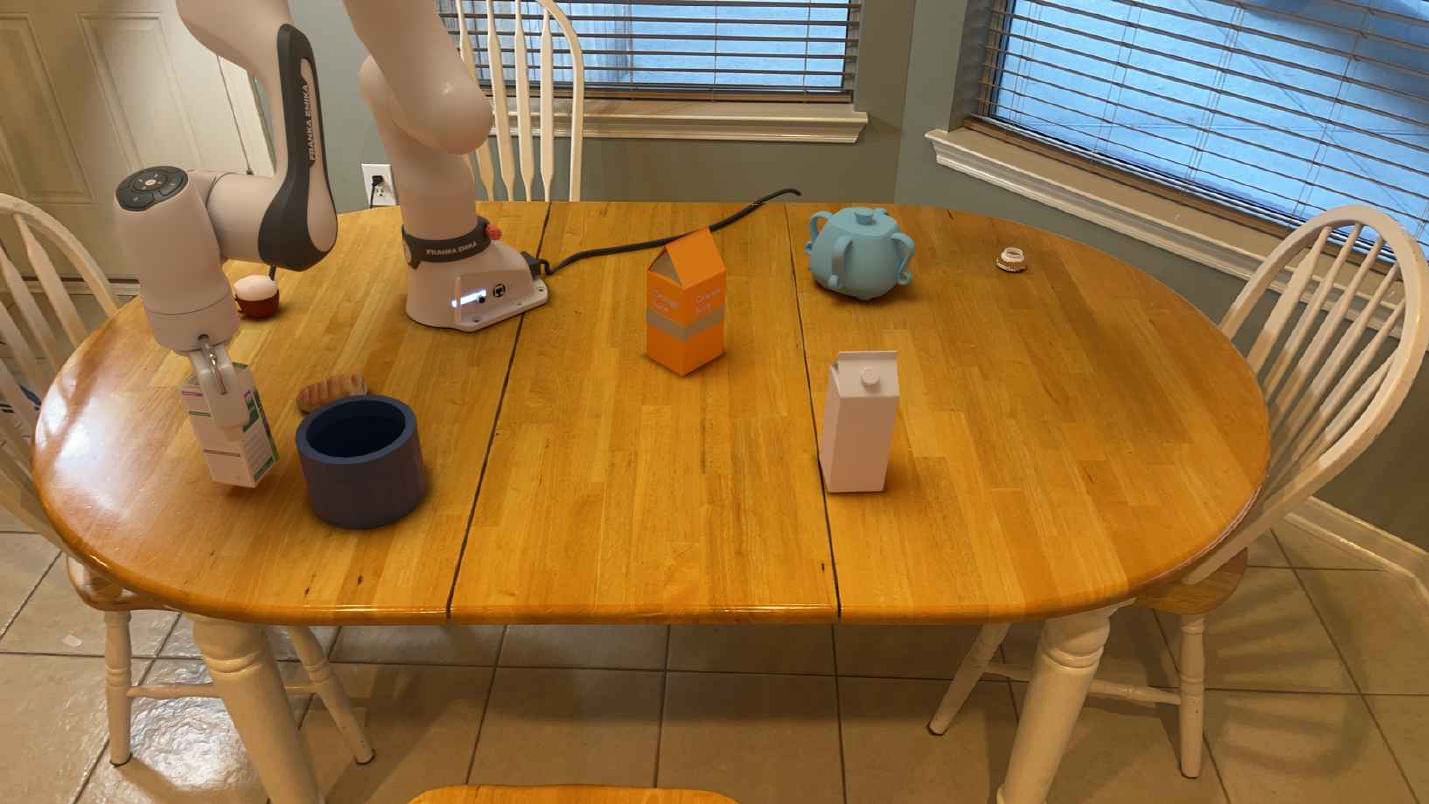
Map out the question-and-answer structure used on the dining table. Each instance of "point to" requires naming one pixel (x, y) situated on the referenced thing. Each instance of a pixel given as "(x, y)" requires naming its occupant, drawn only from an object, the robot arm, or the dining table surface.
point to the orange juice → (686, 303)
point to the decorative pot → (859, 252)
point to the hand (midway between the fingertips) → (227, 416)
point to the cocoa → (258, 294)
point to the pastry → (331, 391)
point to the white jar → (1011, 258)
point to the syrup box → (224, 458)
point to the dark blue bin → (362, 460)
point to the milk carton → (859, 420)
